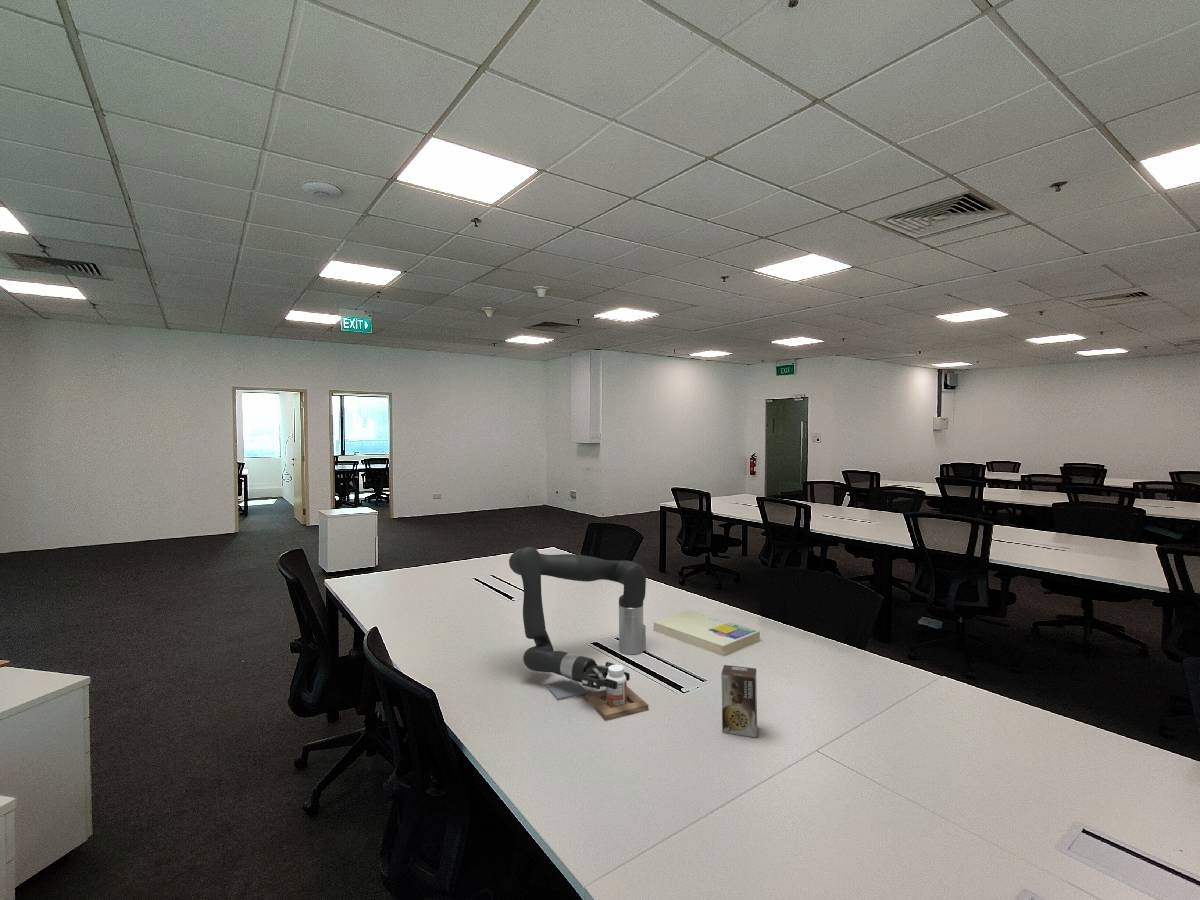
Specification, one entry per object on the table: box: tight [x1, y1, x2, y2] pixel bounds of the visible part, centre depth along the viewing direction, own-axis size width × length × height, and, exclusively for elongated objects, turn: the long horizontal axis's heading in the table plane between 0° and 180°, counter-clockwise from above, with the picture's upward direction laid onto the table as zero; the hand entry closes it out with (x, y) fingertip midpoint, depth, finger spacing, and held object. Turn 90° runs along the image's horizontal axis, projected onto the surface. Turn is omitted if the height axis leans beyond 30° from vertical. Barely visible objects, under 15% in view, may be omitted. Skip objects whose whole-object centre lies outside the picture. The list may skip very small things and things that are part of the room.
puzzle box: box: [653, 610, 761, 657], centre depth 216 cm, size 36×5×24 cm
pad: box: [546, 679, 589, 701], centre depth 169 cm, size 10×10×1 cm
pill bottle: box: [605, 664, 628, 708], centre depth 159 cm, size 6×6×11 cm
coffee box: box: [720, 664, 758, 738], centre depth 145 cm, size 9×6×16 cm
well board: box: [585, 685, 649, 722], centre depth 159 cm, size 14×14×2 cm
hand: (622, 681), depth 158 cm, fingers closed on pill bottle, 6 cm apart
